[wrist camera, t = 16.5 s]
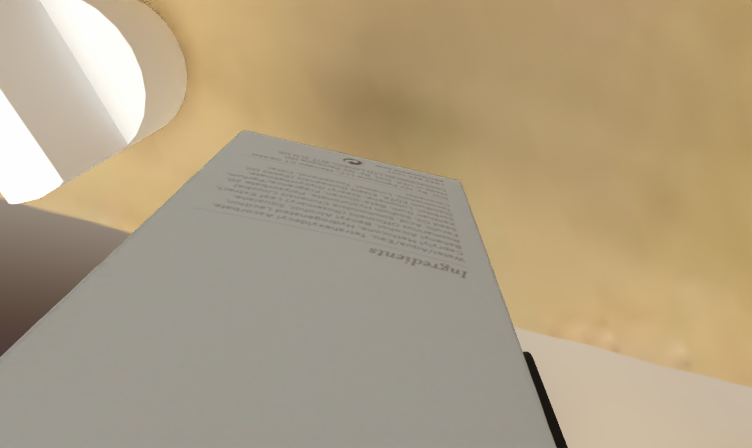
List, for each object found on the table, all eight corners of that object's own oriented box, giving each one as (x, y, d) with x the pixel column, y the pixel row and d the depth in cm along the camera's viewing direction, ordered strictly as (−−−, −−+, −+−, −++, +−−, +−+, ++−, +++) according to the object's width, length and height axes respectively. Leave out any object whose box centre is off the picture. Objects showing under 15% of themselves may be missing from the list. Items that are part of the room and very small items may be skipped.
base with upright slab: (212, 107, 33) (124, 163, 22) (98, 156, 34) (-39, 230, 23) (137, -37, 29) (-14, -57, 18) (13, 24, 31) (-194, 39, 20)
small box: (243, 123, 12) (-358, 620, 2) (466, 176, 12) (718, 793, 3) (211, 375, 15) (-98, 1012, 6) (389, 412, 16) (380, 1068, 6)
